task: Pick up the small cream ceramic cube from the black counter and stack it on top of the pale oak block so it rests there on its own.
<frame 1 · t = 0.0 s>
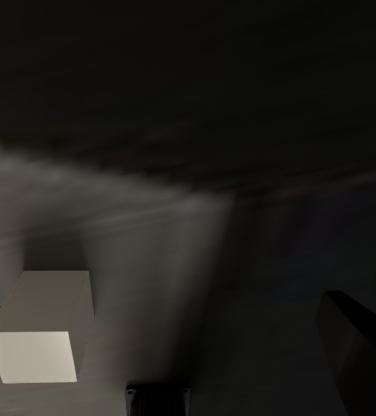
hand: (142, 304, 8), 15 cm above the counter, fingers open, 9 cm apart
ceramic cube: (60, 294, 26), on the counter
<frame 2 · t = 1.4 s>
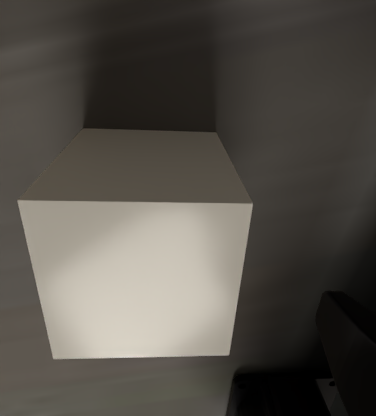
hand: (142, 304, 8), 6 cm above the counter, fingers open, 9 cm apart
ceramic cube: (151, 190, 13), on the counter
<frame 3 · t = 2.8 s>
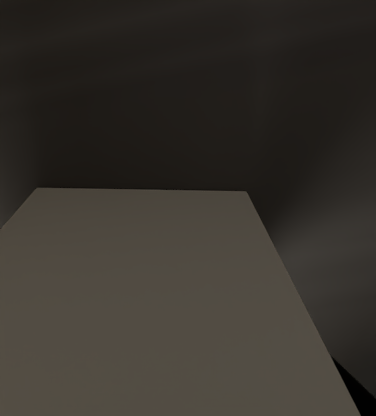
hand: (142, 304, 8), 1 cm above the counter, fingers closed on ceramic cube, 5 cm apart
ceramic cube: (145, 271, 9), on the counter, touching gripper
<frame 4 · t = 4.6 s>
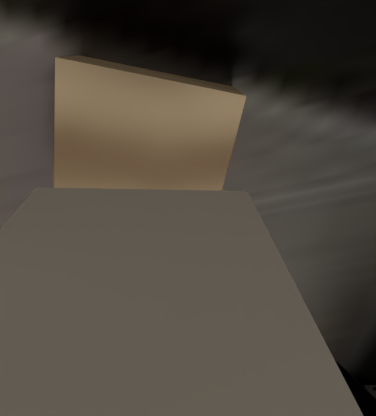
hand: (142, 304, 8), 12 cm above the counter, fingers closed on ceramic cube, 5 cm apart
ceramic cube: (145, 271, 9), point 11 cm above the counter, touching gripper
oak block: (148, 144, 19), on the counter
when the fingers open (7 cm above the counter, at t = 6.3 s): ceramic cube drops 2 cm, resting on oak block.
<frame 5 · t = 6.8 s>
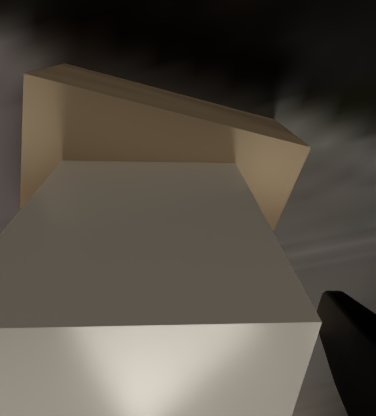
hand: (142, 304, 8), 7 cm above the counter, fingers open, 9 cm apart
ceramic cube: (151, 234, 10), point 4 cm above the counter, touching oak block
oak block: (153, 185, 14), on the counter, touching ceramic cube
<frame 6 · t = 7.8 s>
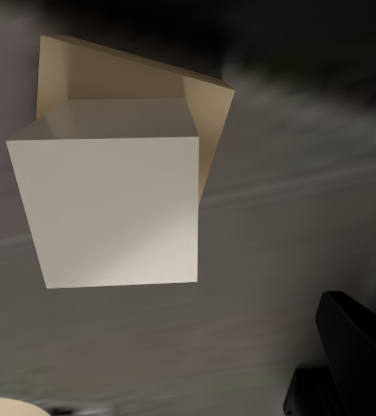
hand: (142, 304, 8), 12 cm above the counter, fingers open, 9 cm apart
ceramic cube: (132, 155, 15), point 4 cm above the counter
oak block: (133, 132, 18), on the counter
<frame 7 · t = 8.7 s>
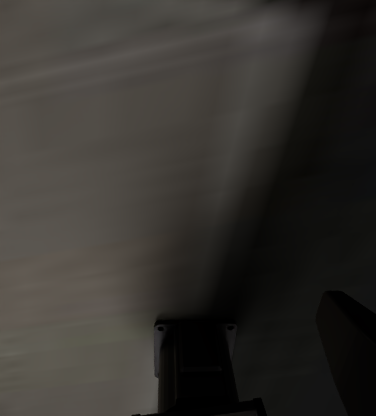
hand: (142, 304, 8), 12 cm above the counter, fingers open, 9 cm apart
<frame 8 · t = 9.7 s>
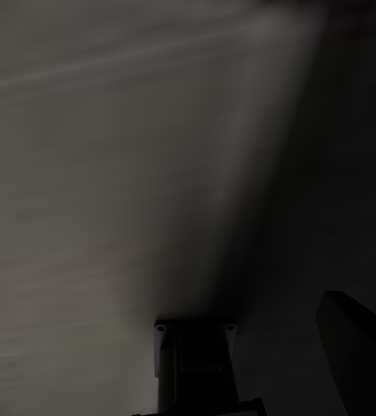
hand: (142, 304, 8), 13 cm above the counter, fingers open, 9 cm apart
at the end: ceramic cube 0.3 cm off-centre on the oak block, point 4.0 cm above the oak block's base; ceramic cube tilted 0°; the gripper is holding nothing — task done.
